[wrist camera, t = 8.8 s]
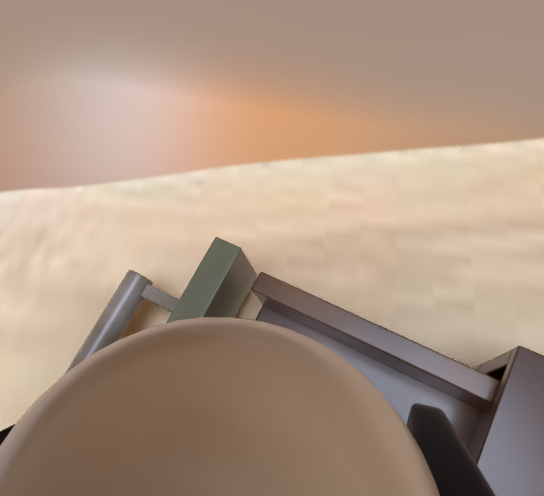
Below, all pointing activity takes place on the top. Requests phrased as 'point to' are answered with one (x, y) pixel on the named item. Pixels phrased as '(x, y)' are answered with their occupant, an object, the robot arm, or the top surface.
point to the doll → (213, 421)
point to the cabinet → (514, 425)
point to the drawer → (312, 336)
